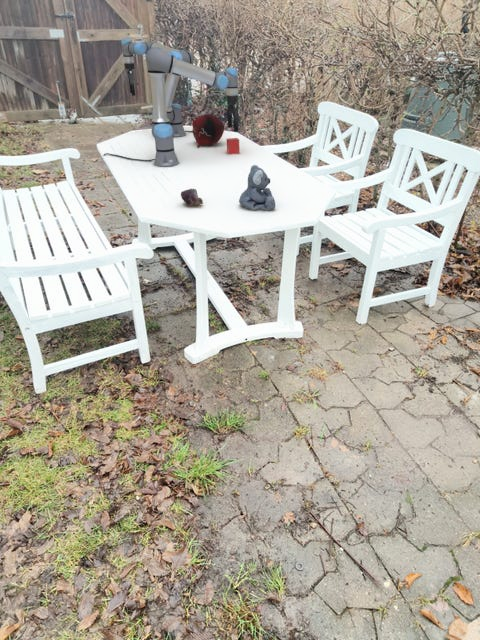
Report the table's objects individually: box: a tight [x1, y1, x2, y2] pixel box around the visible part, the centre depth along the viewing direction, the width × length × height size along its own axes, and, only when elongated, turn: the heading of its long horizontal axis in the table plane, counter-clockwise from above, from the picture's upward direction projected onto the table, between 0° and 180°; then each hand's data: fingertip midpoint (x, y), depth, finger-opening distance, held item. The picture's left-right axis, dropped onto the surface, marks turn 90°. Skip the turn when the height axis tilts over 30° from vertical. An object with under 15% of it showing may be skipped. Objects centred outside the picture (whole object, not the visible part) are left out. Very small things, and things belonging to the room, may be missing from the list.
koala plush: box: [238, 164, 276, 211], centre depth 224 cm, size 17×18×20 cm
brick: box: [226, 137, 240, 155], centre depth 313 cm, size 5×8×9 cm, turn 109°
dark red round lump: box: [190, 113, 225, 149], centre depth 332 cm, size 21×24×25 cm
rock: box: [180, 188, 204, 207], centre depth 229 cm, size 12×9×10 cm
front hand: (232, 129), depth 307 cm, fingers open, 13 cm apart
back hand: (132, 94), depth 351 cm, fingers open, 13 cm apart
